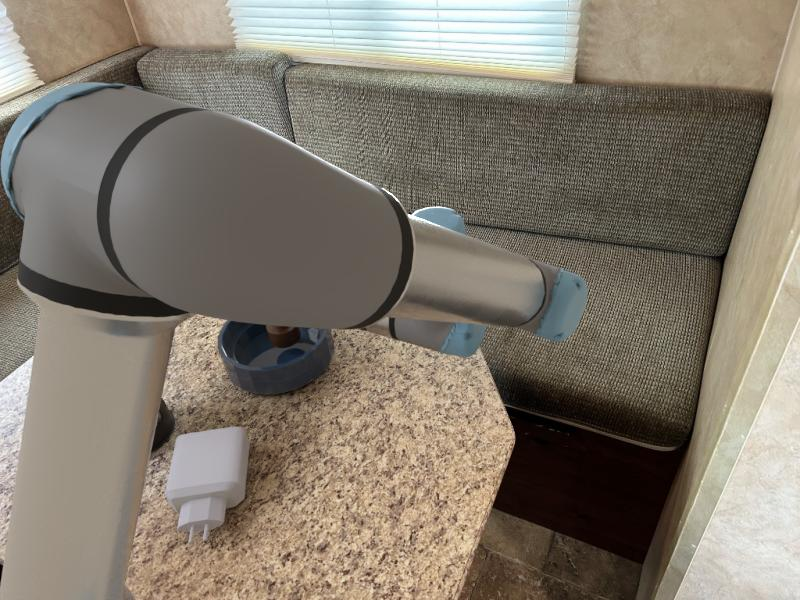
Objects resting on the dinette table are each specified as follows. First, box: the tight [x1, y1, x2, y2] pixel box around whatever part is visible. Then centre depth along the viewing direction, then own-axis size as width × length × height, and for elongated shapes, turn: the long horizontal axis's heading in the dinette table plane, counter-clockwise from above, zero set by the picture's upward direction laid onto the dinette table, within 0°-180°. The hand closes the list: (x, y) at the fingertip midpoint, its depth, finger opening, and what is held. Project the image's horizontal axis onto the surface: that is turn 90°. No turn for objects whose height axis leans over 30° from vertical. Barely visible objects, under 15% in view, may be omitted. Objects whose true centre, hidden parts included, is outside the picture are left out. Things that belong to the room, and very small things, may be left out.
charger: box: [164, 426, 251, 544], centre depth 78 cm, size 5×9×15 cm
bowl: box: [216, 320, 335, 395], centre depth 97 cm, size 17×17×6 cm
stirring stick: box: [266, 325, 301, 348], centre depth 91 cm, size 5×5×21 cm
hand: (239, 270), depth 92 cm, fingers closed on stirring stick, 3 cm apart
